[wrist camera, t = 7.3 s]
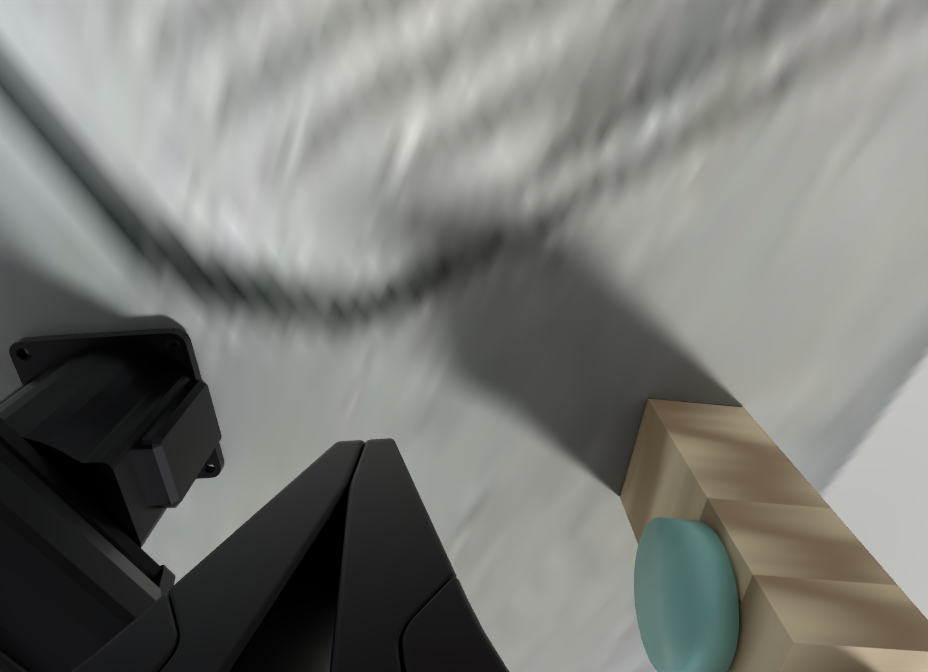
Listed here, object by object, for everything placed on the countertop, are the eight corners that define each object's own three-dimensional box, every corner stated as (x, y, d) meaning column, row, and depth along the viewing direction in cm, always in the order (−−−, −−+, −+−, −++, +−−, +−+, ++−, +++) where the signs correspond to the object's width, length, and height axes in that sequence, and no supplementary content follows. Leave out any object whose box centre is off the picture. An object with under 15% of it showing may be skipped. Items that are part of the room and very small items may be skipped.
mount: (620, 497, 26) (728, 773, 16) (648, 398, 24) (793, 642, 13) (708, 504, 26) (871, 780, 16) (744, 407, 24) (956, 653, 14)
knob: (624, 588, 21) (666, 714, 16) (656, 487, 19) (712, 601, 15) (784, 599, 21) (863, 725, 17) (830, 502, 19) (931, 617, 15)
